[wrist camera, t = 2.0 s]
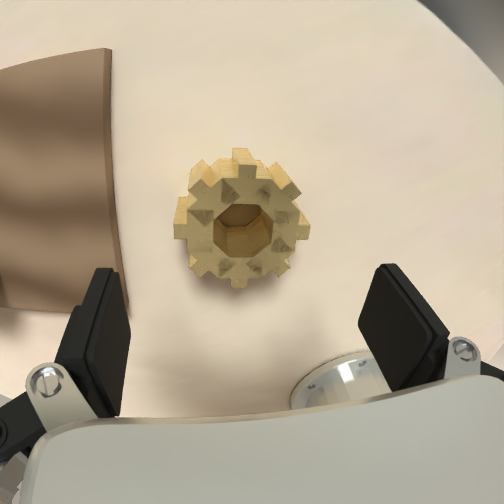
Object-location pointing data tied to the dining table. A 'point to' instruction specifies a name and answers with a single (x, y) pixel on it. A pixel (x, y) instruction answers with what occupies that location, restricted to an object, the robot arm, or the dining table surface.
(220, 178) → the brass gear
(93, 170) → the gear board
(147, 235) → the dining table surface
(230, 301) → the dining table surface
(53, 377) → the robot arm
